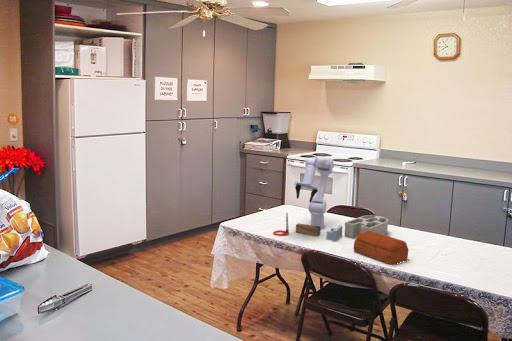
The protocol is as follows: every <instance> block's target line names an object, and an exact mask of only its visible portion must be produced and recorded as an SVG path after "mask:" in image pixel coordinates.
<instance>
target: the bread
mask: <svg viewBox="0 0 512 341" xmlns="http://www.w3.org/2000/svg"><path fill="white" fill-rule="evenodd" d="M353 252H356V253H358V254H361V255H363V256H366V257H369V258H372V259H374V258H375V260H377V259H378V260H377V261H380V260H381V261H380V262H382V261H384V262H383V263H385V262H387V263H386V264H388V263H391V264H390V265H392V264H396V265H398V264H397V263H400V262H403V261H406V262H407V261H408V257H409V246H408V244H407V242H406V241H405V240H402V239H398V238H395V237H391V236H390V235H388V234H386V235H382V234H379V233H376V232H372V231H366V232H363V233H359V234H358V235H357V237H355V240H354V242H353ZM403 263H404V262H403ZM400 264H401V263H400Z"/></svg>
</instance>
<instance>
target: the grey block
mask: <svg viewBox="0 0 512 341" xmlns="http://www.w3.org/2000/svg"><path fill="white" fill-rule="evenodd" d="M342 236H343V225H338V226H337V227H331V228H330V230H327V231H326V240H329V241H332V242H337V241H338V240H340V238H341V237H342Z"/></svg>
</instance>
